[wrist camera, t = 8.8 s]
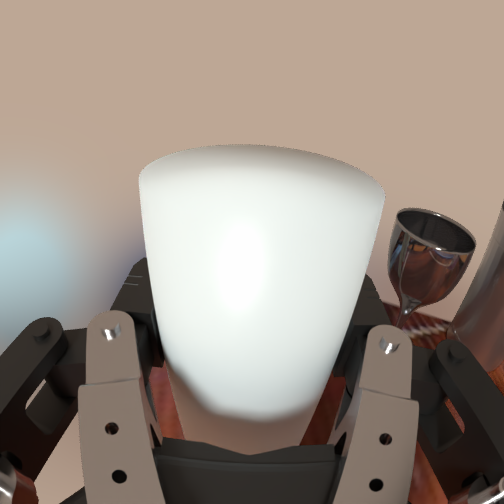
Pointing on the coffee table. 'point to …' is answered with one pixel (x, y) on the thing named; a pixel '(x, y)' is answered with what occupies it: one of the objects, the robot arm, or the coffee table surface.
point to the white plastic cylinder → (254, 283)
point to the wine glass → (426, 258)
